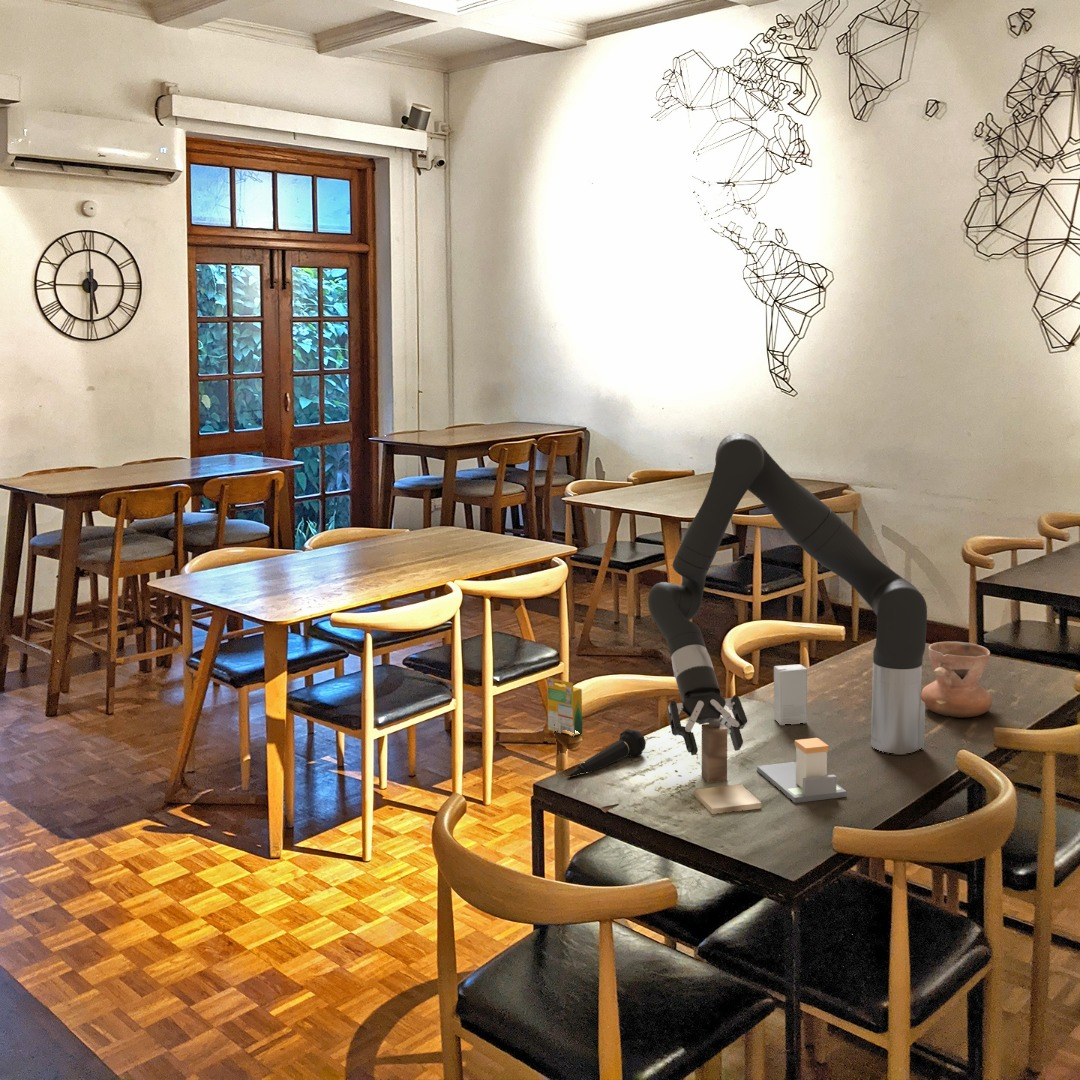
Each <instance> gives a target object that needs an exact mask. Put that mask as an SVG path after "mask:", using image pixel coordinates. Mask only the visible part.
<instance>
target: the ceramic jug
mask: <svg viewBox="0 0 1080 1080" xmlns="http://www.w3.org/2000/svg"><path fill="white" fill-rule="evenodd" d="M990 655H991V651H990V650H989V649H988V648H987V647H985V646H982V645H979V644H977V643H972V642H963V641H939V642H938V641H937V642H934V643H931V644H929V646H928V656H929V657H928V658H929V659H930V664H931V667H932V668H931V669H932V670H933V673H934V675H935V677H936V679H935V680H934V681H932V682H931V683H929V684H927V685H926V686H924V687H923V689H921V701H923V702H925V708H927V709H928V710H929V711H931V712H932V713H933V712H934V713H936V714H938V715H941V716H944V715H945V717H949V716H951V718H972V717H977V716H981V715H983V714H985V713H987V712H988V711H990V709H991V708H992V705H993V698H992V695H990V693H989V692H988V691H987V690H985V689H984V688H983V687H982V686H981V685H979V684H978V682H979V680H980V679H981V678H982V676H983V673H984V671H985V669H986V667H987V665H988V662H989V659H990Z"/></svg>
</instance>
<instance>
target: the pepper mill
mask: <svg viewBox="0 0 1080 1080" xmlns="http://www.w3.org/2000/svg"><path fill="white" fill-rule="evenodd" d="M701 777H702V778H703V779H704V780H705V781H706V782H707V783H717V782H724V781H725V782H727V781H728V729H727V728H726V727H724V726H723V725H722V724H721V723H720V720H719V719H710V720H709V723H705V724H701Z"/></svg>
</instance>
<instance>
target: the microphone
mask: <svg viewBox="0 0 1080 1080" xmlns="http://www.w3.org/2000/svg"><path fill="white" fill-rule="evenodd" d="M646 744H647V742H646V739H645V737H644V734H642V732H640V731H639V730H636V729H629V728H627V729H626V730H624V731H622V732H621V733H620V735H619V740H617V741H615V742H614V743H612V744H611V745H609V746H607V747H606V748H604V749H602V750H601V751H598V752H597V753H596V754H594V755H593V756H591V757H590V758H588V759H587V760H584V762H585V763H583V762H582V763H580V764H581V765H580V764H579V765H578V766H577V767H576V769H574V770H573V771H571V772H570V773H569V774H567V776H573V775H577V774H580V773H586V772H590V773H592V772H594V770H595V771H598V770H599V769H601V767H602V768H603V767H606V766H607V765H608V766H609V765H610V764H612V763H614V762H616V761H619V760H621V759H624V758H626V757H631V758H637V757H639V756H641V755H642V754H643V752H644V751H645V748H646ZM591 771H592V772H591Z"/></svg>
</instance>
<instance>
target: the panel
mask: <svg viewBox="0 0 1080 1080" xmlns="http://www.w3.org/2000/svg"><path fill="white" fill-rule="evenodd" d="M756 772H758V774H760V775H761V776H762V777H764V779H766V780H767V781H768V782H769V781H770V782H769V783H770V784H772V785H773V786H774V787H775V786H776V787H777V788H778V789H777V788H776V787H775V788H776V789H777V790H778V791H780V790H781V791H782V792H783V793H784V794H785V795H784V794H783V793H782V792H781V791H780V792H781V793H782V794H783V795H784V796H786V795H787V796H786V797H787V798H788V799H789V798H790V799H791V800H792V801H791V800H790V799H789V800H790V801H791V802H792V803H793V804H798V803H805V802H815V801H821V800H822V801H823V800H830V799H838V798H839V799H840V798H846V797H847V793H848V792H847V790H845V789H844V788H843V787H842V786H840V785H839V784H838V783H837V779H838V778H837V775H835V774H828V775H825V776H817V777H808V778H803V788H802V787H800V786H799V785H798V784H797V783H796V761H791V762H790V761H789V762H782V763H781V762H780V763H772V764H761V765H757V766H756Z"/></svg>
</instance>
